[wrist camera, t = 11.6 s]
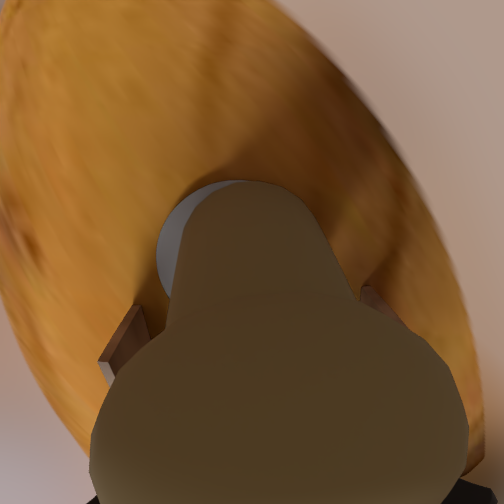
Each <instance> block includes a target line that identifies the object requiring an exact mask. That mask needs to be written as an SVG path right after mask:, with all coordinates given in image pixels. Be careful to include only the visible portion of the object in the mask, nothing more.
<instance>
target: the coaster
mask: <svg viewBox="0 0 504 504" xmlns="http://www.w3.org/2000/svg"><path fill="white" fill-rule="evenodd" d="M236 182H249V181H246V180H227V181H220V182H216V183H213V184H210V185H207V186H205V187H202V188H200V189H198V190H197V191H195V192H193V193H192V194H190V195H189V196H187V197H186V198H185V199H184V200H183V201H182V202H180V203H179V204H178V205H177V206H176V207H175V209H174V210H173V211H172V212H171V213H170V215H169V216H168V218H167V220H166V221H165V223H164V225H163V227H162V229H161V232H160V235H159V239H158V243H157V250H156V263H157V271H158V274H159V278H160V281H161V284H162V286H163V288H164V290H165V292H166V294H167V295H168V297H169V298H170V295H171V289H172V284H173V278H174V273H175V268H176V262H177V257H178V252H179V247H180V242H181V238H182V233H183V228H184V226H185V224H186V222H187V221H188V219H189V217H190V215H191V213H192V212H193V210H194V208H195V207H196V206H197V205H198V204H199V203H200V202H202V201H203V200H204V199H205V198H206V197H207V196H208V195H209V194H211V193H212V192H214V191H216V190H218V189H221V188H223V187H225V186H228V185H230V184H232V183H236Z"/></svg>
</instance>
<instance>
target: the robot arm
mask: <svg viewBox="0 0 504 504" xmlns="http://www.w3.org/2000/svg"><path fill="white" fill-rule="evenodd" d="M497 502H498V501H497V499H496V497H495V495H494V493H493V491H492V490H491V489H490V488H487V487H483V486H479V485H476V484H473V483H470V482H468V481H465V480H462V479H460V478H458V480H457V482H456V483H455V485H454V486H453V488H452V489H451V491H450V492H449V494H448V495H447V496H446V498H445V499H444V500H443V501H442V502H441V504H497ZM87 504H100V502H99V499H98V497H97V495H96V496H95V497H94V498H93V499H92V500H91V501H89V502H88V503H87Z"/></svg>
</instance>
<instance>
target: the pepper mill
mask: <svg viewBox="0 0 504 504" xmlns="http://www.w3.org/2000/svg"><path fill="white" fill-rule="evenodd" d="M468 436H469V425H468V421H467V417H466V413H465V409H464V406H463V403H462V400H461V397H460V395H459V392H458V389H457V387H456V384H455V381H454V379H453V376H452V374H451V371H450V369H449V367H448V365H447V364H446V363H445V362H444V361H443V360H442V359H441V357H440V356H439V355H438V354H437V353H436V352H435V351H434V350H433V348H432V347H431V346H430V345H429V344H428V343H427V342H426V341H425V340H424V339H423V338H422V337H420V336H418V335H417V334H415V333H414V332H412V331H410V330H409V329H407V328H406V327H404V326H402V325H401V324H399V323H398V322H396V321H394V320H393V319H391V318H390V317H388V316H386V315H385V314H383V313H381V312H379V311H377V310H375V309H373V308H371V307H370V306H368V305H366V304H364V303H362V302H360V301H356V298H355V296H354V294H353V292H352V290H351V288H350V286H349V284H348V281H347V279H346V277H345V275H344V273H343V271H342V269H341V267H340V265H339V263H338V261H337V259H336V257H335V255H334V253H333V251H332V249H331V247H330V245H329V243H328V241H327V239H326V237H325V235H324V234H323V232H322V230H321V228H320V226H319V224H318V222H317V220H316V218H315V217H314V215H313V214H312V213H311V211H310V210H309V209H308V208H307V206H306V205H305V204H304V202H303V201H302V200H301V199H300V198H298V197H297V196H295V195H294V194H292V193H291V192H289V191H288V190H286V189H284V188H283V187H281V186H277V185H273V184H269V183H265V182H261V181H249V182H236V183H232V184H230V185H228V186H225V187H223V188H221V189H218V190H216V191H214V192H212V193H211V194H209V195H208V196H207V197H206V198H205V199H204V200H203V201H202V202H200V203H199V204H198V205H197V206H196V207H195V208H194V210H193V212H192V213H191V215H190V217H189V219H188V221H187V222H186V224H185V226H184V228H183V233H182V238H181V242H180V247H179V252H178V257H177V262H176V268H175V273H174V278H173V284H172V289H171V295H170V301H169V307H168V313H167V320H166V327H165V330H164V331H162V332H161V333H160V334H159V335H157V336H156V337H155V338H154V339H152V340H151V341H150V342H149V343H147V344H146V345H145V346H144V347H142V348H141V349H140V350H139V351H138V352H137V353H136V354H135V355H134V356H133V357H132V358H131V359H130V360H129V361H128V362H127V363H126V364H125V365H124V366H123V367H122V368H121V369H120V370H119V371H118V373H117V375H116V377H115V379H114V381H113V383H112V385H111V387H110V389H109V391H108V393H107V396H106V398H105V400H104V402H103V404H102V406H101V409H100V412H99V414H98V417H97V420H96V422H95V425H94V428H93V431H92V434H91V444H90V462H89V473H90V476H91V479H92V482H93V485H94V488H95V491H96V494H97V497H98V499H99V502H100V504H441V502H442V501H443V500H444V499H445V498H446V496H447V495H448V494H449V492H450V491H451V489H452V488H453V486H454V485H455V483H456V482H457V480H458V478H459V477H460V475H461V473H462V472H463V470H464V468H465V467H466V460H467V450H468Z"/></svg>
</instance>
